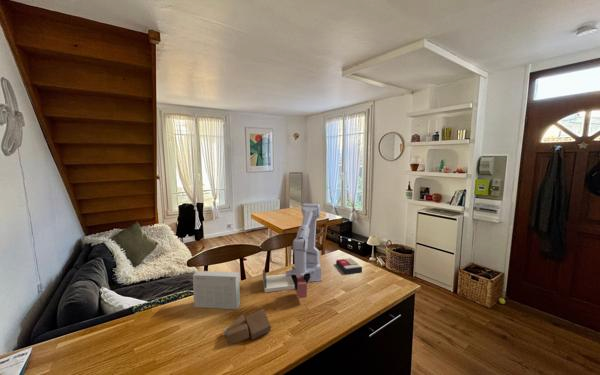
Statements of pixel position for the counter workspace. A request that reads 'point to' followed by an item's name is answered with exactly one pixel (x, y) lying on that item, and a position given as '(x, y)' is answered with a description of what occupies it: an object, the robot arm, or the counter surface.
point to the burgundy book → (301, 287)
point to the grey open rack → (277, 282)
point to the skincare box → (216, 289)
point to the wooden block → (247, 327)
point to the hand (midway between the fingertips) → (300, 288)
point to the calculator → (349, 266)
